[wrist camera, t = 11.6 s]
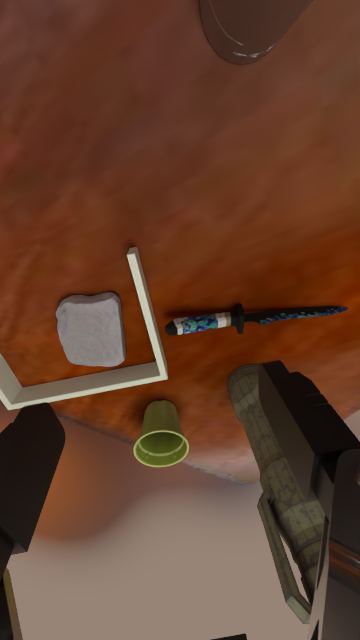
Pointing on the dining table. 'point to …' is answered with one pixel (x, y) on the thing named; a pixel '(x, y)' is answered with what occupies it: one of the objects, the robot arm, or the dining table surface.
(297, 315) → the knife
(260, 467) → the stone statue
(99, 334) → the stone block
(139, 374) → the cream u-shaped barrier
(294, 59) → the dining table surface
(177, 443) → the plant pot
